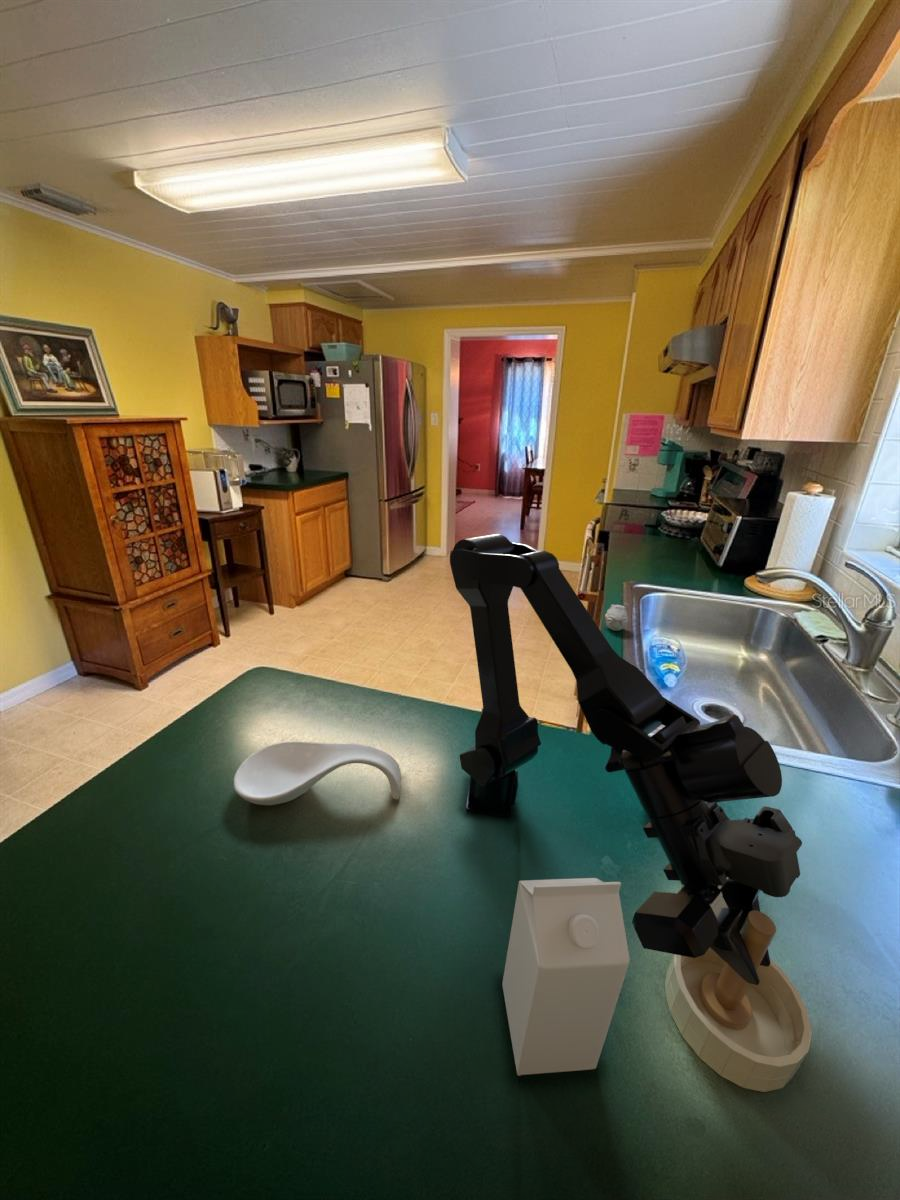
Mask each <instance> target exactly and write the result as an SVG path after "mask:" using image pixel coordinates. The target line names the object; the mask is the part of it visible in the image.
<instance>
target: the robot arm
mask: <svg viewBox="0 0 900 1200" xmlns="http://www.w3.org/2000/svg"><path fill="white" fill-rule="evenodd" d="M449 552H450V554H449V565H450V569H451V573H452V578H453V581H454V585H455V589H456V591H457V592H458V593H459V594H460V595H461V597H462V599H464V601H465V602H466V603H467V604H468V606H469V610H470V615H471V617H470V618H471V623H472V633H473V639H474V647H475V655H476V662H477V663H476V664H477V671H478V679H479V685H480V686H479V687H480V694H481V701H482V711H481V713H480V714H481V715H480V717H479V720H478V722H477V725H476V727H475V730H474V741H475V742H474V747H472V748H470V749H468V750H466V751H464V752H462V753H460V754H459V761H460V767H461V769H462V770H463V772H465V773H466V774H468V775H469V784H468V791H467V796H466V804H465V805H466V806H465V810H466V811H467V812H469V813H474V814H481V815H488V816H494V817H500V818H501V817H502V818H507V819H509V818H511V817H512V813H513V812H512V811H513V810H512V809H513V808H512V806H515V805H516V802H517V801H516V799H517V793H518V787H519V771H518V770H517V769H519V768H520V767H522V766H523V765H524V764H527V763H529V762H530V761H531V760H533V759H534V758H535V757H536V756H537V755H538V752H539V746H542V741H541V739H540V736H539V721H538V719H537V718H536V717H533V716H529V715H528V713H527V712H526V711H525V710H524V709H523V707H522V706H521V704H520V696H519V689H518V687H519V686H518V679H517V671H516V661H515V654H514V646H513V636H512V628H511V620H510V619H511V618H510V611H509V599H510V597H511V594H512V591H513V589H514V588H518V589H520V590H521V592H522V593H523V595H524V596H525V598H526V600H527V601H528V603H529V604H530V606H531V607H532V609H533V611H534V612H535V614H536V616H537V617H538V619H539V621H540V622H541V624H542V625H543V627H544V628H545V630H546V632H547V633H548V635H549V636H550V639H551V640H552V641H553V643H554V645H555V646H556V648H557V649H558V651H559V652H560V654H561V656H562V658H563V659H564V661H565V662H566V664H567V665H568V667H569V668H570V670H571V672H572V675H573V677H574V679H575V683H576V693H577V701H578V702H577V703H578V705H579V708H580V709H581V712H582V714H583V716H584V718H585V721H586V723H587V725H588V727H589V729H590V731H591V733H592V735H593V736H594V737H595V738H596V740H597V741H599V743H601V744H602V745H607V746H609V747H611V748H610V755H609V757H608V760H607V762H606V765H605V767H604V768H605V771H606V772H608V773H614V772H619V771H620V772H621V771H624V772H625V774H626V776H627V778H628V781H629V782H630V784H631V787H632V788H633V791H634V792H635V794H636V797H637V799H638V801H639V803H640V805H641V807H642V809H643V811H644V813H645V815H646V817H647V820H648V821H649V822H648V823H646V824H645V825H644V826H643V827H642V829H643V832H644V833H645V835H646V838H648V839H653V838H656V839H657V840H658V842H659V844H660V846H661V848H662V850H663V852H664V854H665V856H666V858H667V860H668V862H669V863H668V864H667V865H666V866H664V868H663V869H662V870H663V872H664V874H665V876H666V879H667V881H679V882H680V884H681V885H682V887H681V888H680V889H679V890H678V891H677V892H665V891H663V892H662V891H653V893H651V895H650V896H649V897H648V898H647V899H646V900H645V901H644V902H643V903H642V904H641V906H639V908H638V909H636V911H635V912H634V915H633V917H632V921H631V922H632V926H633V928H634V931H635V933H636V935H637V937H638V940H639V942H640V944H641V946H642V948H643V949H645V950H649V951H655V952H661V953H666V954H670V955H673V954H676V955H681V956H686V957H691V958H696V957H699V956H702V955H704V954H705V953H706V951H707V950H708V949H709V947H710V948H711V949H712V950H713V951H714V952H716V953H717V954H718V955H719V956H720V957H721V958H722V959H723V960H724V961H725V962H726V963H727V964H728V965H729V966H730V967H731V968H732V969H733V970H735V971H736V972H737V973H738V974H739V975H740V976H741V977H742V978H743V979H744V980H745V981H746V982H748V983H750V984H754V985H758V984H759V983H760V980H759V977H758V974H757V972H756V969H755V966H754V964H753V961H752V959H751V957H750V954H749V952H748V950H747V948H746V945H745V943H744V941H743V938H742V936H741V934H740V930H741V928H742V926H743V924H744V922H745V919H746V917H747V915H748V913H749V912H750V911H752V910H756V911H760V912H761V906H760V901H759V900H760V899H759V894H760V892H762V893H763V895H764V894H765V895H767V896H770V897H773V898H784V897H786V896H788V894H789V893H790V891H791V887H792V886H793V884H794V883H795V881H796V880H797V879H799V878H800V876H801V869H800V864H799V858H798V853H797V852H798V851H799V850H800V848H801V847H802V845H803V841H802V839H801V838H800V837H798V836H797V834H796V830H794V828H793V826H792V825H791V823H790V822H789V821H788V819H787V818H786V816H785V815H784V813H783V812H782V810H780V808H779V809H778V808H775V807H771V806H765V805H764V806H762V807H761V809H759V811H758V812H757V813H756V815H755V816H754V817H753V818H748V817H744V818H743V819H730V818H729V817H728V815H727V814H726V812H725V810H724V808H723V807H722V806H721V805H719V804H718V803H722V802H723V803H725V802H732V801H733V802H734V801H740V800H742V801H743V800H753V799H763V798H773V797H776V796H777V795H779V794H780V793H781V790H782V786H783V777H782V776H783V775H782V770H781V769H782V768H781V766H780V762H779V760H778V757H777V754H776V752H775V751H774V749H773V747H772V745H771V744H770V742H769V741H768V740H765V739H764V738H763V737H762V735H761V734H760V733H758V732H757V731H756V730H755V729H753V728H752V727H749V726H745V725H744V723H743V722H742V719H741V718H740V716H739V715H737V714H731V715H726V716H723V717H721V718H719V719H717V720H716V721H712V722H708V723H703V724H701V721H700V720H699V719H698V718H697V717H695V716H694V715H692V714H691V713H689V712H688V711H686V710H685V709H683V708H681V707H680V706H678V705H677V704H675V703H674V702H672V701H671V700H668V699H667V698H666V697H664V696H663V695H662V693H661V692H660V690H658V689H657V687H656V686H655V685H654V684H653V683H652V681H651V680H649V678H648V677H647V676H646V675H645V674H644V673H643V671H641V669H640V668H638V667H637V666H635V665H633V664H632V663H630V662H629V661H627V660H626V659H624V658H622V657H621V656H620V655H618V653H617V652H616V651H615V649H614V648H613V647H612V646H611V645H610V643H609V641H608V640H607V638H606V637H605V636H604V634H603V632H602V631H601V629H600V628H599V626H598V625H597V624H596V621H594V619H593V616H592V615H590V613H589V610H587V608H586V607H585V605H584V604H583V603H582V600H581V599H580V598H579V596H578V594H577V593H576V592H575V590H574V589H573V587H572V586H571V584H570V583H569V581H568V580H567V578H566V577H565V575H564V574H563V572H562V571H561V569H560V563H559V561H558V559H557V557H556V556H555V555H554V553H551V552H549V551H547V550H539V549H536V548H534V547H533V546H530V545H528V544H524V543H518V542H512V541H511V540H510V539H508V537H507V536H505V535H503V534H500V533H493V534H487V535H481V536H474V537H469V538H463V539H460V540H457V542H456V543H455V544H454V547H453V548H452V550H451V551H449ZM661 726H663V727H662V728H661V729H659V730H658V731H656V732H655V730H657V729H658V728H660V727H661ZM653 732H655V733H654V734H652V736H650V734H651V733H653ZM770 958H771V957H770V953H769V948H768V949H767V951H766V953H765V955H764V957H763V959H762V961H761V963H760V965H761V966H766V967H769V965H770V963H771V962H770Z"/></svg>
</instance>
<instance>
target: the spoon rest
mask: <svg viewBox="0 0 900 1200" xmlns="http://www.w3.org/2000/svg"><path fill="white" fill-rule="evenodd" d="M351 764H362V765H366V766H367V765H368V766H372V767H374V768H376V769H378V770H379V771H380V772H382V773H383V774H384V775H385V777H386V778H387V780H388V783H389V786H390V791H391V792H390V793H391V796H392V799H394V800H399V799H400V795H401V786H402V773H401V769H400V765H399V763H398V761H397V760H396V759H395V758H394V757H393V756H392V755H391V754H390V753H388V752H386V751H384V750H382V749H380V748H377V747H375V746H371V745H367V744H363V743H354V742H352V743H351V742H346V743H345V742H344V743H343V742H341V743H340V742H338V743H337V742H334V743H332V742H315V741H301V740H297V741H296V740H295V741H294V740H293V741H291V740H290V741H283V742H276V743H273V744H270V745H266V746H264V747H262V748H260V749H258V750H256V751H254V752H253V753H252V754H250V755H249V756H247V758H246V759H244V760H243V761H242V763H241V764H240V765H239V766H238V768H237V770H236V772H235V774H234V778H233V788H234V791H235V792H236V794H237V795H238V796H239V797H241V798H242V799H243V800H245V801H247V802H249V803H250V804H251V803H252V804H254V805H260V806H275V805H276V806H277V805H280V804H285V803H288V802H291V801H294V800H295V799H297V798H298V797H300V796H302V795H303V794H304V793H306V792H307V791H309V789H311V788H312V787H313V786H315V785H316V784H317V783H318V782H320V781H321V780H322V779H323V778H325V777H326V776H327V775H329V774H330V773H332V772H333V771H335V770H337V769H339V768H341V767H344V766H346V765H351Z"/></svg>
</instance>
